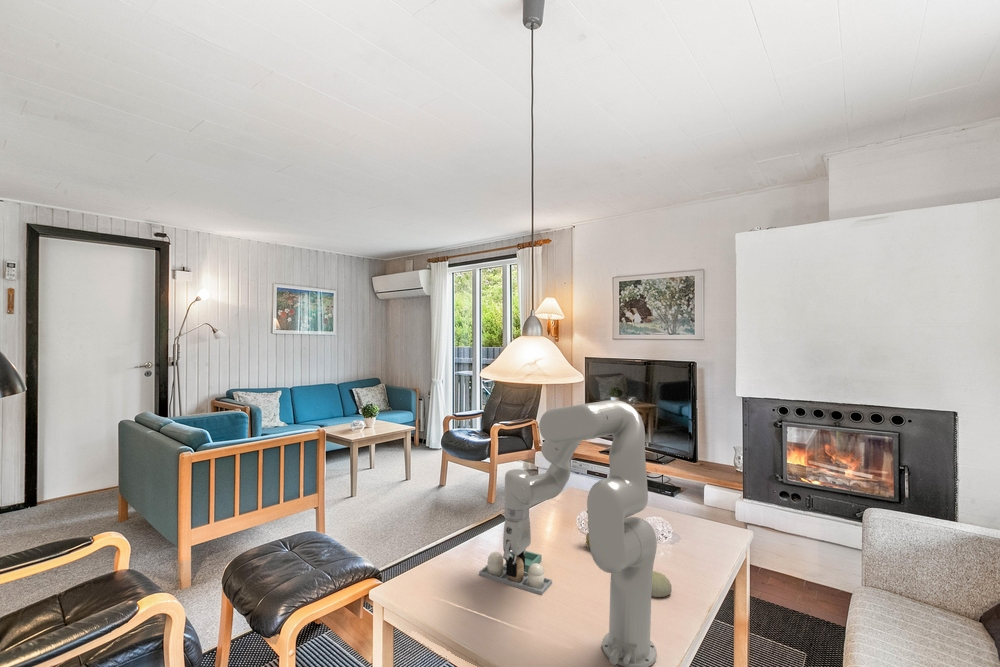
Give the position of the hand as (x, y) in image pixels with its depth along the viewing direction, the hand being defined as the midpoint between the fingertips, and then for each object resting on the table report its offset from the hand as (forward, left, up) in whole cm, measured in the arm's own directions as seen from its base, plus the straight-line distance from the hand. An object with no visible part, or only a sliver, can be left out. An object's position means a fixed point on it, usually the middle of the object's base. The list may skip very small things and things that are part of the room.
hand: (515, 571), depth 145 cm
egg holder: (+10, +2, -3) cm, 11 cm away
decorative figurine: (+34, -16, -3) cm, 38 cm away
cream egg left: (0, +7, -2) cm, 7 cm away
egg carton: (0, 0, -3) cm, 3 cm away
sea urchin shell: (+17, -38, -3) cm, 41 cm away
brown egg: (0, 0, -2) cm, 2 cm away
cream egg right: (0, -7, -2) cm, 7 cm away
